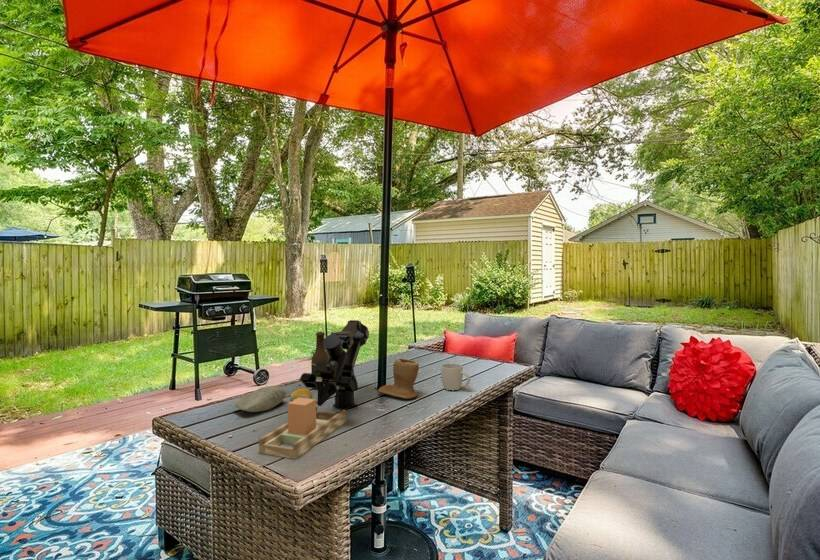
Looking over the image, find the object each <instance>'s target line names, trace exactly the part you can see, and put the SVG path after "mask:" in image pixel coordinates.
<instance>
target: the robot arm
mask: <svg viewBox="0 0 820 560" xmlns="http://www.w3.org/2000/svg"><path fill="white" fill-rule="evenodd" d="M369 337H370V331H369V329H368V327H367V325H365V324H363V323H362V320H359V319H358V320H355V319H354V320H352V319H350V320H348V321H347V323H346V325H345V326H344V327H343V328H342V329H341V330H340V331H334V332H333V331H332V332H330V334H327V336H325V337H324V340H323V345H324V348H325V351H326V352H327V355H328V356H329V358H328V361H327V362H316V365H315V369H314V371H315V372H316V371H317V372H319V373H318V375H319V376H321V377H315V376H314V374H312V373H311V372H310V373H309V372H303V373H302V374H301V375H300V378H299V380H300V381H301V383H302V384H303V386H305V387H306V389H308V388H310V389H312V388H315V387H317V390H316V391H317V400H316V406H317V407H322V406H323V405H324V403H326V402H327V401H328V400H329V399H330V398H331V397H332V396H334V404H333V405H332V406H333V407H335V408H338V409H341V410H348V409H350V408H354V407H357V406H358V405H357V403H355V392H356V391H358V386H359V385H358V384H359V383H358V380H357V377H356V375H355V370H354V369H355V365H356V362H357V360H358V359H357V358H358V356H359V352H360V349H361V347H362V346H364V345H366V344H367V341H368V340H369Z"/></svg>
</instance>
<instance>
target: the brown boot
mask: <svg viewBox="0 0 820 560" xmlns="http://www.w3.org/2000/svg"><path fill="white" fill-rule="evenodd" d="M419 368H420V367H419V363H418V362H417V361H416V360H413V359H408V358H407V359H406V358H399V357H398V358H396V359H395V360H394V363H393V369H392V371H393V380H394V382H393V384H384V385H382V386H381V387H379V388H378V392H379V393H382V394H385V395H387V396H391V397H394V398H395V397H396V398H402V399H414V398H416V397H418V395H419V392H417V391H416V390H415V389H414V385H415V382H416V379H417V377H418V373H419V370H420V369H419Z"/></svg>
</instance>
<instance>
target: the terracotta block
mask: <svg viewBox="0 0 820 560" xmlns="http://www.w3.org/2000/svg"><path fill="white" fill-rule="evenodd" d="M316 407H317V399H314V398H311V399H308V398H297V399H295V400H293V401H292V400H291V401H290V402H288V403H287V422H288V433H293V434H300V435H307V434H308V433H310V432H311V431H313V430H314V429H316Z"/></svg>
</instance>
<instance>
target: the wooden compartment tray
mask: <svg viewBox="0 0 820 560" xmlns="http://www.w3.org/2000/svg"><path fill="white" fill-rule="evenodd" d="M346 422H347V409H341V410H340V411H339V412H330V411H329V412H328V411H321V410H318V406H316V429H314V430H313V431H311V432H310V433H308V434H307V435H300V434H293V433H288V421H287V422H286V423H284V424H282V425H281V426H279V427H277V428H275V429H274V430H272V431H270V432H268V433H267V434H266V435H265V434H264V436H262V437H260V438H259V439H258V453H259V454H263V455H268V456H272V457H273V456H275V457H280V458H281V457H282V458H286V459H293V460H297V459H298V458H300V457H301V456H302V455H303V454H304V453H306V452H307V451H309V450H311V449H312V448H313V447H314V446H316V445H317V444H318V443H320V442H321V441H322V440H324V439H325V438H326V437H327V436H329V435H330V434H331V433H333V432H334V431H335V430H336V429H338V428H340V427H341V426H342V425H344V424H345V423H346ZM281 444H285V445H292V446H291V447H289V446H284V445H283V446H282V445H281Z"/></svg>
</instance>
